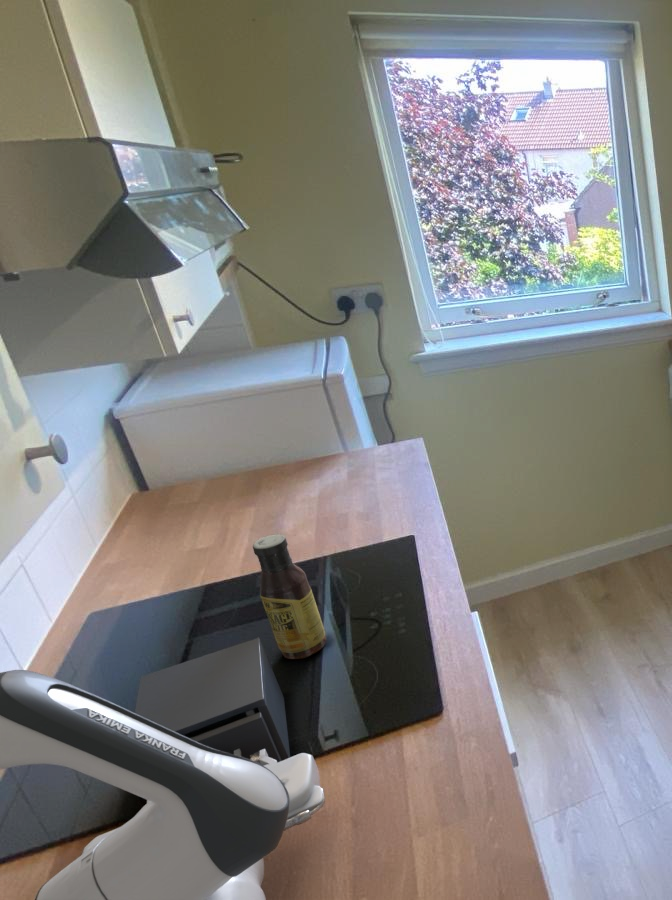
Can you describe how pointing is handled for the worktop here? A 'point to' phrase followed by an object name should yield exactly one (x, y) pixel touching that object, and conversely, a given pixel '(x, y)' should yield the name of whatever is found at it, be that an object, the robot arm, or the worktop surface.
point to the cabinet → (216, 692)
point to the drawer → (238, 735)
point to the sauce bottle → (288, 600)
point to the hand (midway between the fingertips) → (210, 774)
